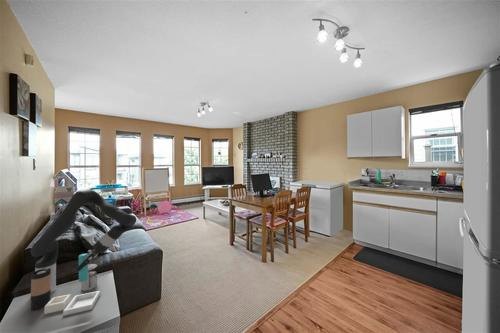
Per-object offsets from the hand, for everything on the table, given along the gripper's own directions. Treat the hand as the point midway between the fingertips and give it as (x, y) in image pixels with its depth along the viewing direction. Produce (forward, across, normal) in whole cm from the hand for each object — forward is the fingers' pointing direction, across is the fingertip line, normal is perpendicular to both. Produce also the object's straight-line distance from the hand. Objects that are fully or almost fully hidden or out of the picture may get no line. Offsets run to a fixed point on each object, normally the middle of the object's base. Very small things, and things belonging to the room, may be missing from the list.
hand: (78, 268), depth 109 cm
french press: (+15, -19, +16) cm, 29 cm away
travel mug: (+29, -11, +2) cm, 31 cm away
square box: (+22, -4, +8) cm, 24 cm away
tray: (+14, 0, +17) cm, 22 cm away
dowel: (+4, 0, +6) cm, 7 cm away
